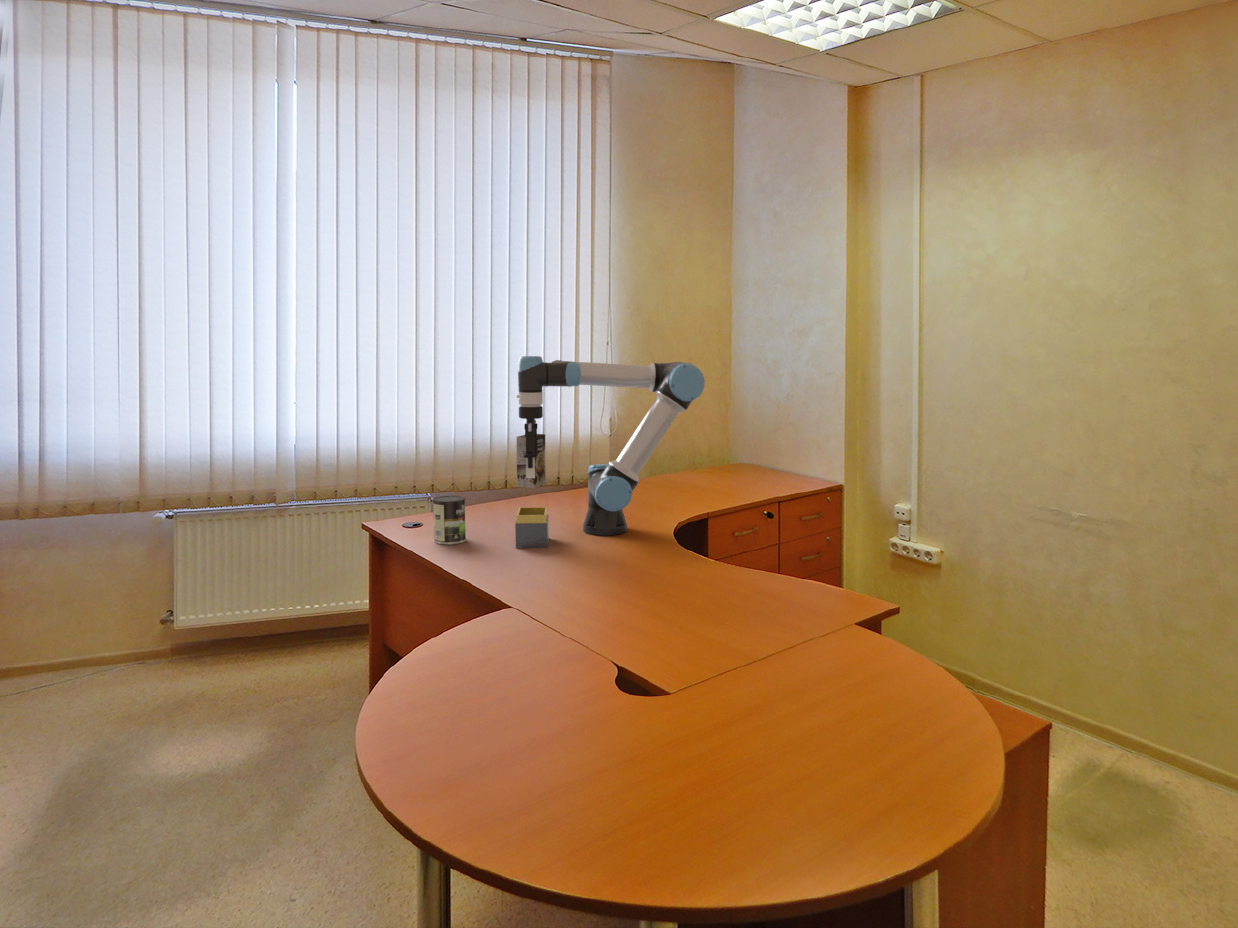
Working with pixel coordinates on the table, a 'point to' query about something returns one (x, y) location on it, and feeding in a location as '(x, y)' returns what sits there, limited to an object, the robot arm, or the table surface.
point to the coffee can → (449, 519)
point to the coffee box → (539, 462)
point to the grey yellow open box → (532, 527)
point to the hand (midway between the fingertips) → (531, 474)
